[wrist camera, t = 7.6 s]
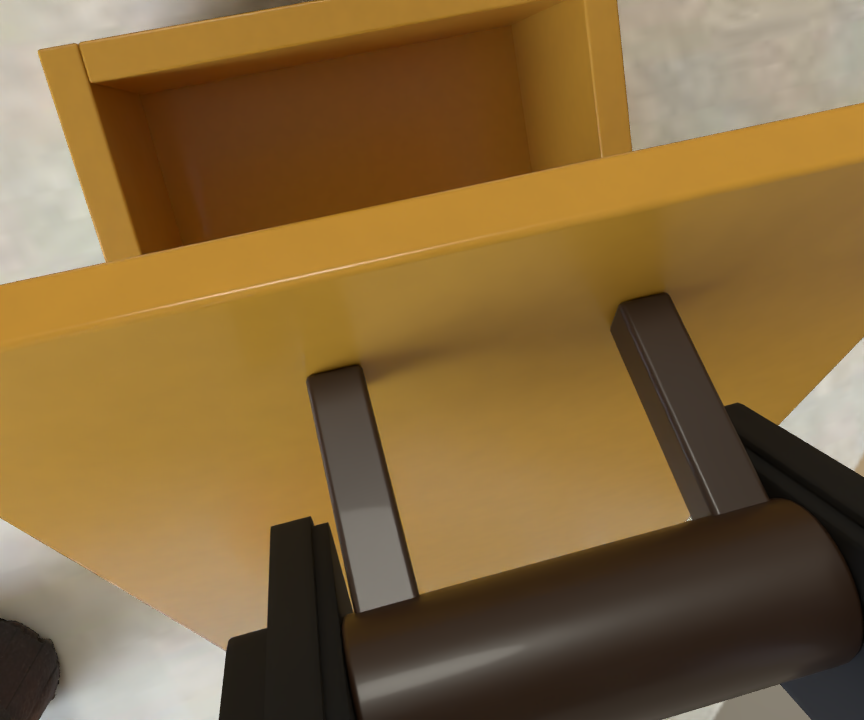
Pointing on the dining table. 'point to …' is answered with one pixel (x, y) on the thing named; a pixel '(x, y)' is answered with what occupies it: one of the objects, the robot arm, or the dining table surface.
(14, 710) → the butter churn
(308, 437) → the lid
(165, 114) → the open wooden box
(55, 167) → the dining table surface
